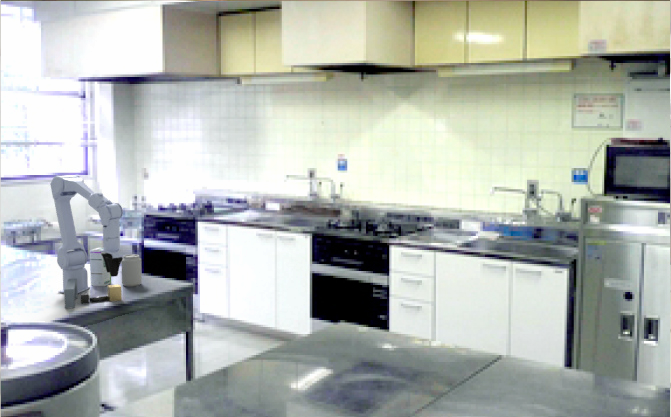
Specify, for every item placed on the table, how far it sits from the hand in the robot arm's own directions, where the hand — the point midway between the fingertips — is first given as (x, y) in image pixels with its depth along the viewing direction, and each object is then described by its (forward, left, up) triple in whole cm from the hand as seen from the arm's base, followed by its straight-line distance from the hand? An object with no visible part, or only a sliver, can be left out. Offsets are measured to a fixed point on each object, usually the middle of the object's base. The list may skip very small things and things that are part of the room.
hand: (112, 274), depth 241 cm
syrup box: (-20, -15, -10) cm, 27 cm away
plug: (+3, -3, -9) cm, 10 cm away
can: (-22, -3, -10) cm, 25 cm away
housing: (+7, -12, -9) cm, 17 cm away
